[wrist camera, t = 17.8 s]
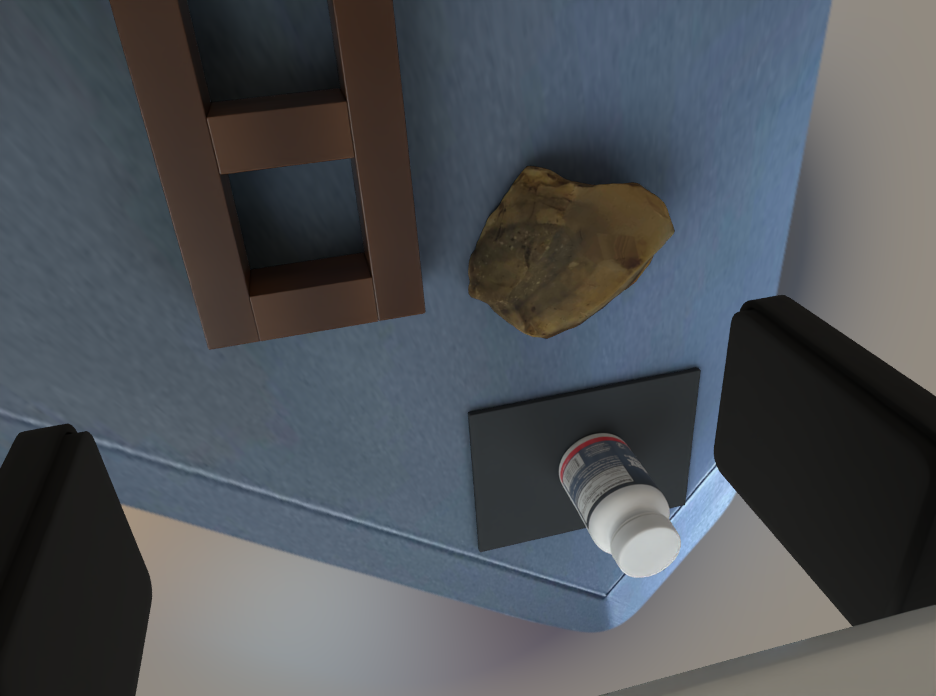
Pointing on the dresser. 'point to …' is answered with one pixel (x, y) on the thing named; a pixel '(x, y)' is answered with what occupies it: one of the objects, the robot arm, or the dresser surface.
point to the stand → (277, 145)
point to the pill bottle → (620, 504)
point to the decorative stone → (564, 249)
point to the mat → (555, 430)
